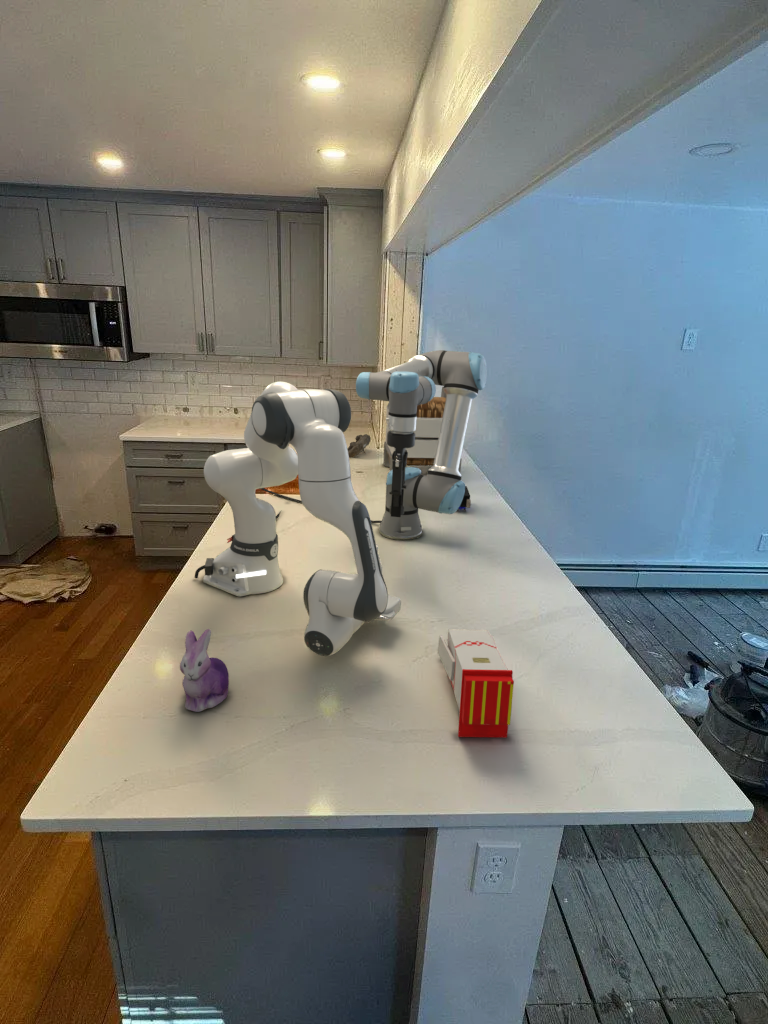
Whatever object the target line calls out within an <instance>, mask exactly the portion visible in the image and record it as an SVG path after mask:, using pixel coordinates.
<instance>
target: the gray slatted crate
mask: <svg viewBox="0 0 768 1024" xmlns="http://www.w3.org/2000/svg"><path fill="white" fill-rule="evenodd" d="M443 388H444V386H442V387H441V392H440V393H441V394H440V396H434V397H433V399H432V400H431V401H429V402H427V403H426V404H421V405H418V406H417V420H416V430H415V431H414V433H415V445H414V446H413V447H411V448H406V450H407V452H408V457H407V464H406V467H417V466H418V467H432V466H433V464H434V459H435V454H436V448H437V443H438V438H439V433H440V428H441V423H442V417H443V412H444V407H445V402H446V397H447V396H446V394H445V392H444V391H443ZM388 412H389V402H388V404H387V405H386V413H385V414H386V415H385V419H386V418H389V417H388ZM385 423H386V428H385V438H384V442H383V466H384V467H388V468H389V472H390V471H391V470H393V469H392V461H393V460H392V453H393V452H394V451H395V448H394V447H390V446H388V445H387V433H388V431H390V430H389V429H388V423H389V422H387V421H386V420H385ZM462 461H463V460H462V457H461V459H460V464H459V469H458V470H459V472H460V474H461V475H462V473H461V472H462Z"/></svg>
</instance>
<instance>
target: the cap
mask: <svg viewBox="0 0 768 1024" xmlns="http://www.w3.org/2000/svg"><path fill="white" fill-rule="evenodd" d="M389 513H390V514H391V506H390V511H389ZM403 514H404V506H401V515H403Z"/></svg>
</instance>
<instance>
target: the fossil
mask: <svg viewBox="0 0 768 1024" xmlns="http://www.w3.org/2000/svg"><path fill="white" fill-rule="evenodd" d="M354 440H355V441H351V442H350V443H349V446H347V448H348V454H349V458H352V457H355V456H357V455H359V454H360V453H361V452H363V453H364V454H366V452H365V449H366V448H367V446H369V445H370V443H371V440H372V439H371V436H370V434H367V433H365V434H358V435H356V436H355V438H354Z"/></svg>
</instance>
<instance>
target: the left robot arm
mask: <svg viewBox="0 0 768 1024" xmlns="http://www.w3.org/2000/svg"><path fill="white" fill-rule="evenodd" d="M351 420H352V409H351V404H350V402H349V400H348V398H347V396H346V395H345V394H344V393H343V392H341V391H339V390H337V389H333V388H332V389H331V388H324V389H319V388H318V389H317V388H316V389H315V388H300V389H298V388H297V387H296V386H295V385H293V384H292V383H289V382H286V381H274V382H271V383H269V384H268V385H267V386H266V387H265V388H264V390H263V391H262V392H261V393H260V395H259V396H257V397H256V398H255V400H254V402H253V404H252V407H251V413H250V416H249V418H248V421H247V423H246V426H245V429H244V431H243V439H244V442H245V445H246V447H244V448H234V449H226V450H223V451H220V452H217V453H214V454H211V455H209V456H208V457H207V459H206V461H205V463H204V466H203V478H204V480H205V483H206V484H207V486H208V487H209V488H210V489H211V490H213V491H214V492H215V493H218V494H219V495H220V496H222V497H223V498H224V499H225V500H226V502H227V504H229V506H230V509H231V512H232V517H233V524H234V534H231V536H230V537H229V538H227V539H226V541H227V542H226V544H229V543H230V542H231V543H230V546H229V547H227V548H226V549H225V550H223V551H221V552H220V553H219V554H217V555H216V556H215V557H207V558H206V560H205V562H204V563H205V564H203V565H201V566H199V567H198V568H197V569H196V571H195V573H194V578H195V579H199V575H200V572H201V571H203V570H204V576H203V578H202V582H203V583H204V584H207V585H209V586H211V587H213V588H217V589H219V590H222V591H223V592H226V593H228V594H231V595H234V596H236V597H245V596H248V595H258V594H264V593H269V592H272V591H275V590H276V589H278V588H280V587H281V586H282V585H283V583H284V578H283V575H282V572H281V568H280V563H279V562H280V561H279V556H278V555H279V536H278V533H277V519H276V516H277V512H276V509H275V507H274V506H273V504H272V503H270V502H269V501H266V500H264V499H261V498H258V497H257V495H256V490H260V489H259V488H264V489H267V488H272V487H279V486H282V485H284V484H288V483H290V482H292V481H294V480H296V479H297V477H298V492H299V497H300V500H301V501H302V503H301V504H302V506H303V507H304V508H305V509H306V510H307V512H309V513H310V514H311V515H312V516H313V517H314V518H316V519H318V520H320V521H321V522H324V523H327V524H329V525H331V526H333V527H334V528H336V529H338V530H339V531H340V532H341V533H343V534H344V535H345V536H346V537H347V539H348V540H349V542H350V545H351V549H352V553H353V558H354V564H355V568H356V573H352V572H347V571H346V572H345V571H339V570H331V569H318V570H316V571H315V572H313V573H312V575H311V576H310V577H309V579H308V580H307V581H306V583H305V585H304V588H303V594H302V595H303V605H304V608H305V610H306V613H307V615H308V622H307V624H306V625H307V626H306V628H305V631H304V633H303V640H304V644H305V645H306V647H307V649H309V650H310V651H311V652H312V653H314V654H316V655H318V656H324V657H329V656H332V655H334V654H336V653H338V651H340V650H341V649H342V648H343V647H344V646H345V645H347V643H348V642H349V641H350V640H351V638H352V636H353V634H355V633H356V632H357V631H358V630H359V629H361V627H362V626H363V625H364V623H371V622H373V621H375V620H377V621H381V622H387V621H390V620H392V619H394V617H396V616H397V615H398V614H399V613H400V611H401V607H402V599H401V598H400V597H399V596H396V595H392V594H389V593H388V587H387V585H386V581H385V579H384V576H383V571H382V572H381V568H380V563H379V558H378V554H379V552H378V553H377V548H376V544H377V543H376V539H375V534H374V530H373V523H371V520H372V519H371V517H370V516H371V515H370V513H369V510H368V507H367V506H366V505H365V504H364V503H363V502H362V501H360V499H359V498H358V496H357V493H355V492H356V491H355V490H354V486H353V482H352V473H351V472H352V471H351V462H350V457H349V454H348V444H347V441H346V440H347V439H346V436H345V434H344V433H345V432H346V431H347V430H348V429H349V426H350V424H351ZM290 445H291V446H292V447H293V448H292V447H291V446H290Z"/></svg>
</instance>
